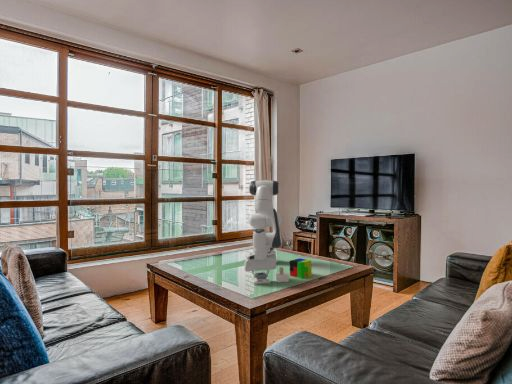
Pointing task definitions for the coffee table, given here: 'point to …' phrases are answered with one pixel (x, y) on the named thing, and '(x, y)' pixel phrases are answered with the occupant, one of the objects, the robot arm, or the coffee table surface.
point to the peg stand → (281, 276)
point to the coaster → (260, 281)
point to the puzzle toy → (300, 268)
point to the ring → (261, 276)
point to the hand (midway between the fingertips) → (260, 277)
